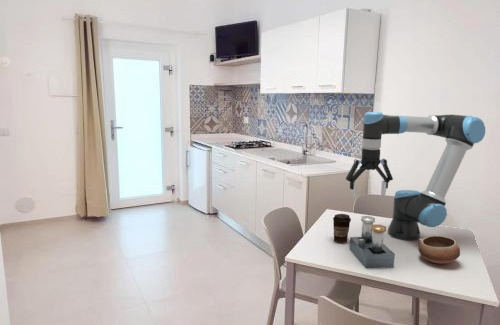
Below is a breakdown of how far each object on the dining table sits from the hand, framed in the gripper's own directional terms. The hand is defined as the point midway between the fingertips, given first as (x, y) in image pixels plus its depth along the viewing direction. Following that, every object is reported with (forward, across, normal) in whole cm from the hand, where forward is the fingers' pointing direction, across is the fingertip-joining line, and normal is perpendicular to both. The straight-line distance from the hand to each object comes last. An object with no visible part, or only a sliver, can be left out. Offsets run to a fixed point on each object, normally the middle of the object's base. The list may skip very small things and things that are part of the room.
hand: (368, 196), depth 166 cm
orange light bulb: (+20, 0, +11) cm, 23 cm away
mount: (+26, 0, +6) cm, 27 cm away
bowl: (+27, -28, +11) cm, 41 cm away
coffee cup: (+27, +7, -13) cm, 30 cm away
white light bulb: (+20, 0, 0) cm, 20 cm away
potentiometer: (+20, +4, +6) cm, 22 cm away
